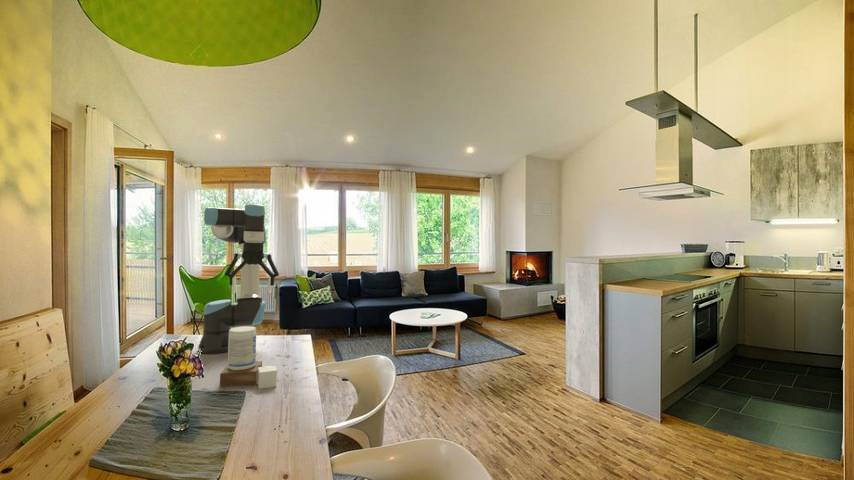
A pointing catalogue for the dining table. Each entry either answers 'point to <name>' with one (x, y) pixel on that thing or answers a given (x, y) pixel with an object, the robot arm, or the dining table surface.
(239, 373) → the walnut block
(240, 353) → the supplement tub
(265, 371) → the cream cube
